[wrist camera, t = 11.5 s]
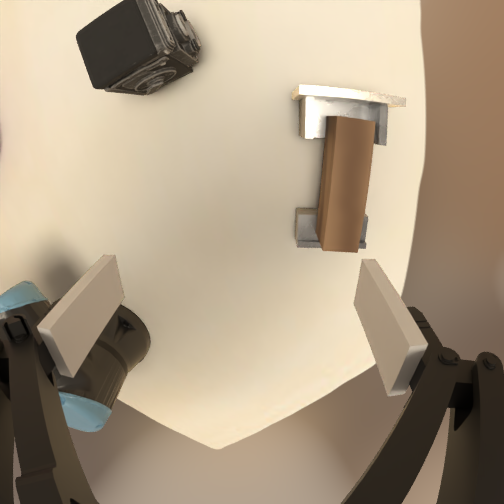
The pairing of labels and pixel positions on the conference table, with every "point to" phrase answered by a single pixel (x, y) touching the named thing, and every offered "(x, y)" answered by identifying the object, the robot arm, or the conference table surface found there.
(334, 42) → the conference table surface
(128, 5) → the camera
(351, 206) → the rail
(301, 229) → the rest block
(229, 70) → the conference table surface
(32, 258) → the conference table surface
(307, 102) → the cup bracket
